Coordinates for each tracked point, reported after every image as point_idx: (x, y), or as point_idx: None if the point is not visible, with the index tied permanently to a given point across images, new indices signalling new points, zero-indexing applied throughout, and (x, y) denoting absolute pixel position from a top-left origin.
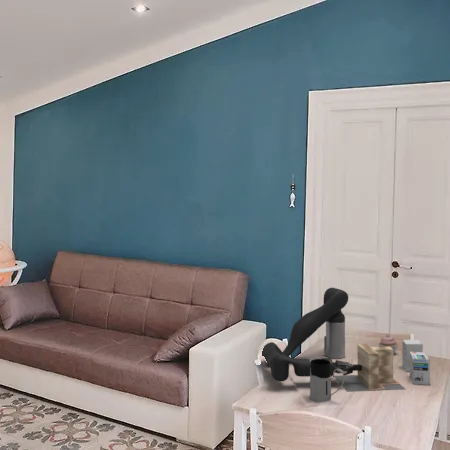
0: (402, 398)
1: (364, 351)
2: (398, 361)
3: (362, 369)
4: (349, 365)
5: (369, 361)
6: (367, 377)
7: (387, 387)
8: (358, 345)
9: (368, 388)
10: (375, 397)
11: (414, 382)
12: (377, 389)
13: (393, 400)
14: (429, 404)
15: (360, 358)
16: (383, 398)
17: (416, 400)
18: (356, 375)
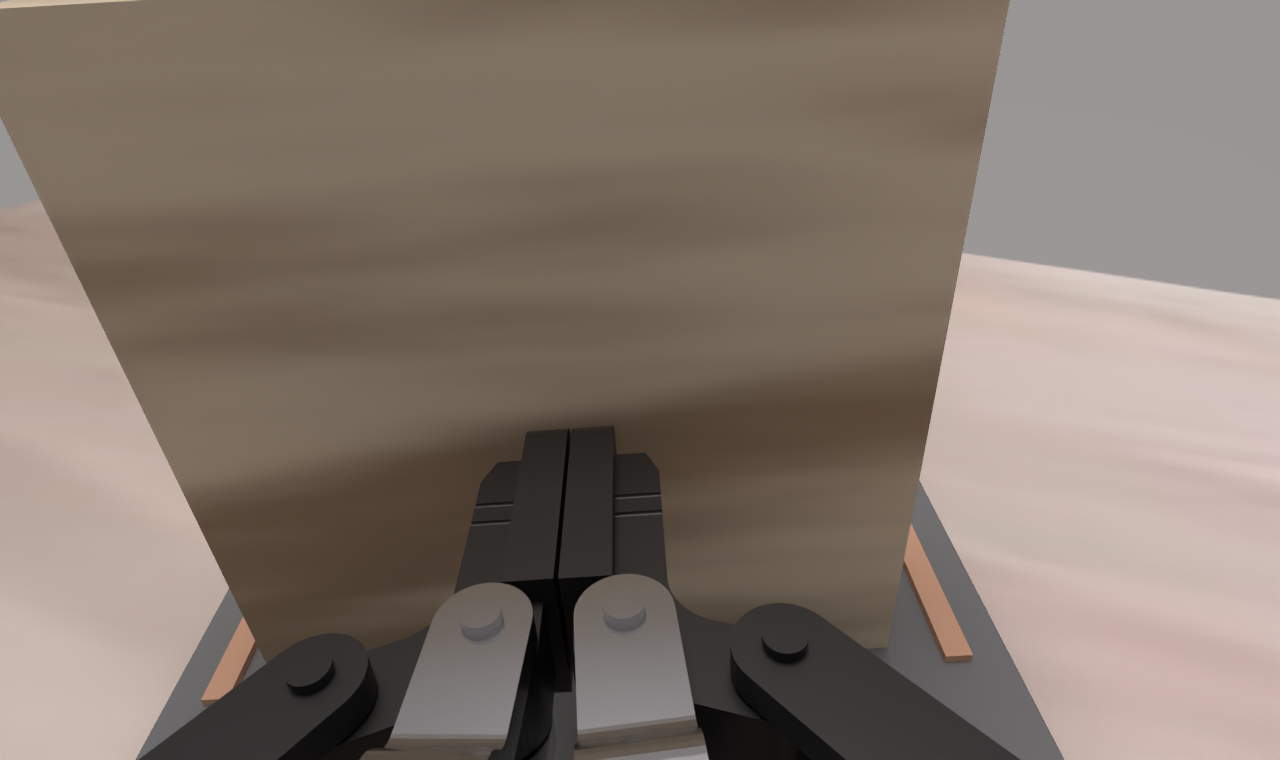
0: (1062, 411)
1: (623, 19)
2: (55, 278)
3: None
4: (646, 684)
5: (971, 176)
6: (828, 527)
7: None
8: (49, 19)
9: (894, 654)
10: (1179, 654)
11: None
12: (920, 550)
13: (1185, 488)
14: (1135, 301)
15: (342, 326)
16: (1167, 567)
17: (1070, 343)
18: (225, 685)
